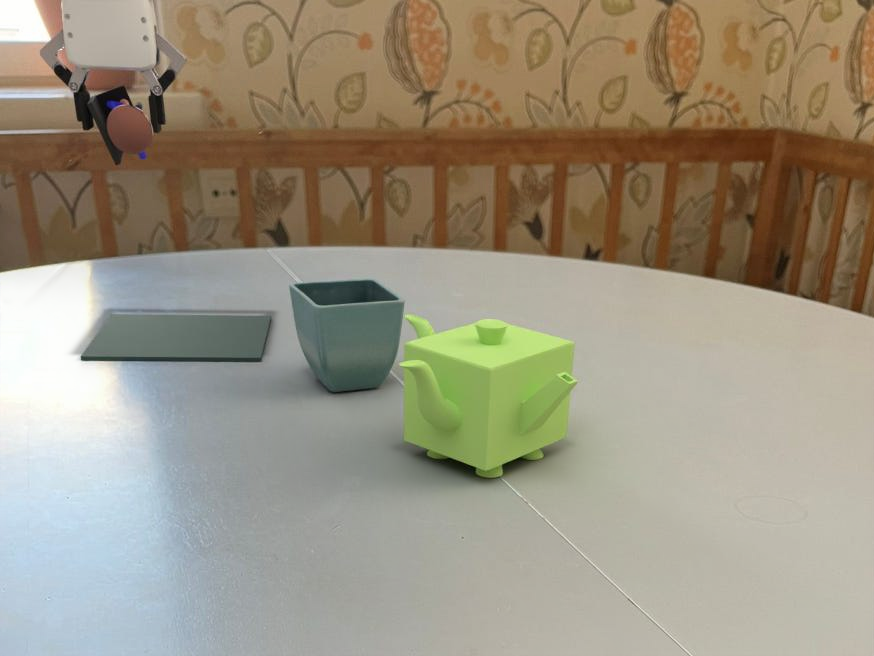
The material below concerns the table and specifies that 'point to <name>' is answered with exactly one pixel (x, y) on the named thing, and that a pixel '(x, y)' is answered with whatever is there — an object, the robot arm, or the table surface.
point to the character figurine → (121, 123)
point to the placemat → (180, 338)
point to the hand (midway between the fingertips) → (122, 129)
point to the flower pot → (348, 330)
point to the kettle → (486, 392)
